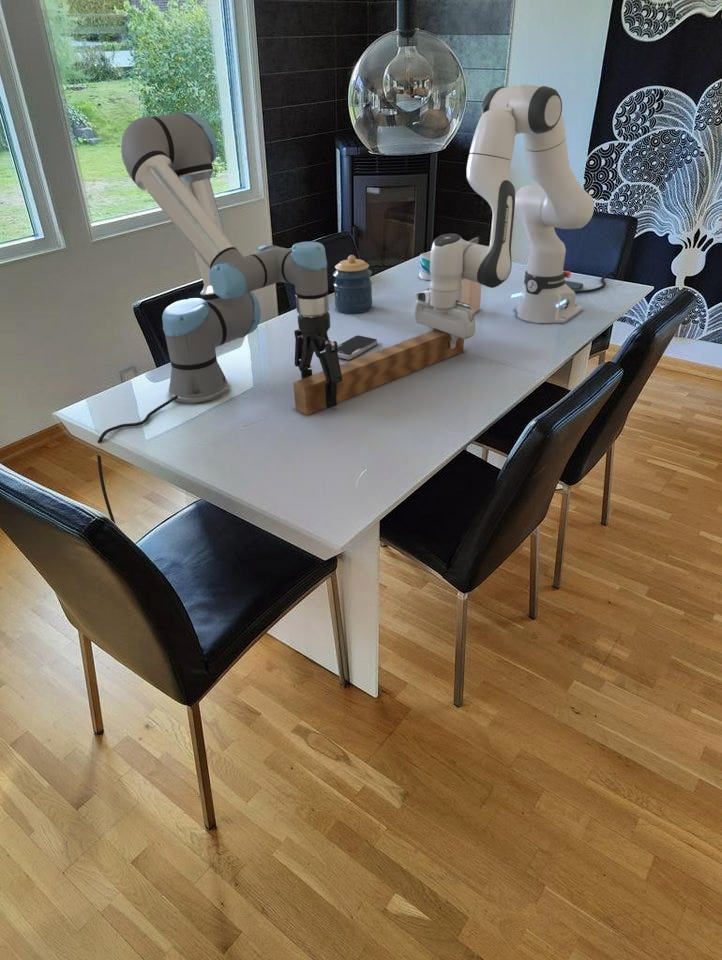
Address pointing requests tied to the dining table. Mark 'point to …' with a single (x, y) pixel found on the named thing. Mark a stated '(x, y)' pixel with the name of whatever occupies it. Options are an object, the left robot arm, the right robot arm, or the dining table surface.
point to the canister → (352, 286)
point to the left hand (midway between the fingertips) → (320, 400)
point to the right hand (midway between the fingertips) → (443, 345)
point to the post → (376, 369)
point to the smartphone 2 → (574, 285)
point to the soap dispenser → (471, 289)
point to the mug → (425, 266)
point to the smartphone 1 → (355, 346)
